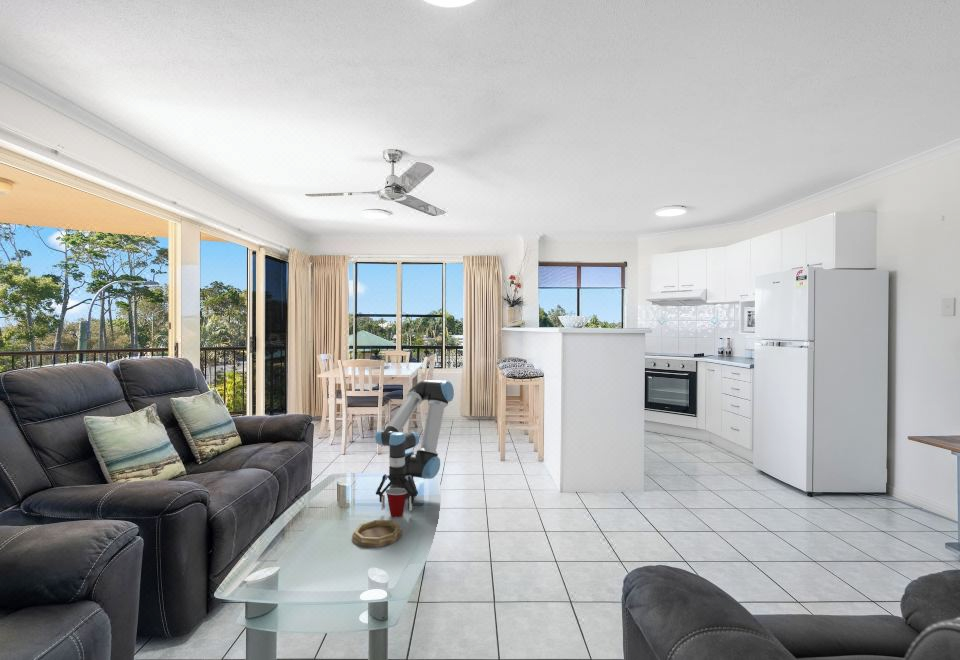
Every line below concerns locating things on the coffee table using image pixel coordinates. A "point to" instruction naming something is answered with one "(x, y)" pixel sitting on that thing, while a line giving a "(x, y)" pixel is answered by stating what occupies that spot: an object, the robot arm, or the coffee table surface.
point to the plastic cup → (396, 501)
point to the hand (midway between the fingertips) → (396, 509)
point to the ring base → (377, 533)
